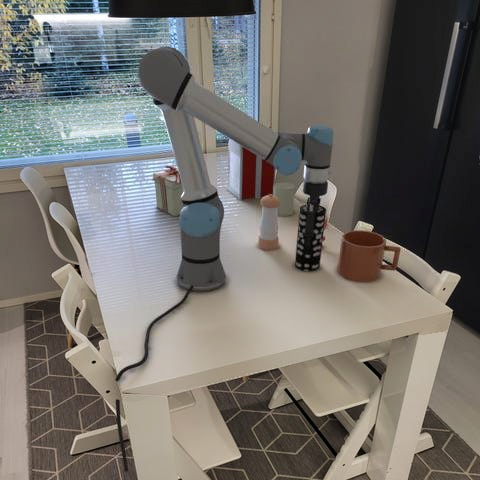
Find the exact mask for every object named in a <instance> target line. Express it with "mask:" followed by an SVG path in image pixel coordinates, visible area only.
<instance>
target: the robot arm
mask: <svg viewBox="0 0 480 480" xmlns="http://www.w3.org/2000/svg"><path fill="white" fill-rule="evenodd" d="M137 74H138V80H139V83H140V85H141V87H142V88H143V90H144V91H145V92H146V93H147V94H148V95H149V96H150V97H151V98H152V102H153V105H154V107H155V108H157V109H158V110H160V112H161V114H162V117H163V121H164V124H165V128H166V132H167V135H168V138H169V141H170V146H171V150H172V153H173V156H174V160H175V163H176V167H177V168H178V171H179V175H180V178H181V182H182V185H183V189H184V192H183V194H182V196H181V199H182V203H183V207H184V208H183V209H182V210H181V213H180V215H179V221H178V223H179V228H180V231H179V232H180V247H181V250H180V251H181V261H180V264H179V266H178V267H179V268H178V270H177V272H176V273H177V274H176V283H177V285H178V286H179V287H180V288H182V289H183V290H186V292H185V294H184V296H183V297H182V298H181V300H180V301H179V302H177V303H176V304H175V305H173V306H172V307H170V308H169V309H167V310H166V311H165V312H163V313H162V314H160V315H158V316H157V317H156V318H154V319H153V320H152V321H151V322H150V323H149V325H148V326H147V328H146V330H145V331H146V332H145V340H144V346H143V347H144V354H143V356H142V358H141V360H139V361H138V362H135V363H133V364H129V365H127V366H125V367H123V368H121V370H119V372H118V373H117V375H116V377H115V378H114V381H115V382H119V381H120V380H121V378H122V376H123V375H124V374H125V373H126V372H128V371H130V370H132V369H135V368H138V367H140V366H142V365H143V364H144V363H145V362H146V360H147V359H148V356H149V342H150V334H151V330H152V328H153V327H154V325H155V324H157V322H159V321H160V320H161V319H163V318H165V317H166V316H167V315H169V314H170V313H171V312H173V311H174V310H176V309H178V308H179V307H180V306H182V305H183V304H184V303H185V302H186V300H187V298H188V297H189V295H190V294H191V292H194V293H206V292H207V293H208V292H212V291H216V290H218V289H220V288H221V287H223V286H224V285H225V283H226V279H227V278H226V272H225V269H224V267H223V264H222V260H221V256H220V254H221V253H220V252H221V250H220V249H221V248H220V247H221V246H220V245H221V244H220V243H221V242H220V240H221V239H220V237H221V229H222V225H223V221H224V217H225V208H224V205H223V202H222V200H221V199H220V196H219V192H218V189H217V187H216V186H214V185H213V184H211V181H210V175H209V172H208V168H207V164H206V160H205V157H204V151H203V147H202V145H201V140H200V136H199V132H198V129H197V124H196V121H195V119H197V120H198V121H200V122H202V123H203V124H205V125H206V126H208V127H210V128H212V129H213V130H215V131H216V132H218V133H220V134H221V135H223V136H224V137H226V138H228V139H229V138H230V139H231V140H233V141H234V142H236V143H238V144H239V145H241V146H243V147H244V148H246V149H248V150H249V151H251V152H252V153H254V154H256V155H257V156H259V157H261V158H262V159H264V160H265V161H267V162H268V163H270V164H272V165H273V166H274V167H275V169H276V172H277V173H278V174H280V175H283V176H291V175H294V174H295V173H297V172H298V171H299V169H300V167H301V166H302V161H304V169H303V183H302V193H303V194H304V195H306V196H308V197H307V200H306V205H307V211H306V212H307V217H306V225H305V233H304V234H303V235H302V236H305V238H304V248H303V254H304V255H312V245H313V231H314V222H315V211H316V213H317V212H318V207H319V206H321V201H322V199H321V197H323V196H325V195H327V194H328V188H329V187H328V186H329V182H328V181H329V179H330V174H332V170H331V168H330V167H331V160H332V155H333V154H332V153H333V146H334V129H333V128H331V127H330V126H328V125H311V126H309V127H308V129H307V131H306V132H305V133H291V132H279V131H278V132H275V131H274V130H272V129H271V128H269V127H268V126H266V125H264V124H263V123H261V122H260V121H259V120H256V119H255V118H254V117H252V116H250V115H249V114H247V113H246V112H244V111H243V110H241V109H239V108H238V107H236V106H234V104H232V103H230V102H229V101H227V100H226V99H224V98H222V97H220V96H219V95H217V94H216V93H214V92H213V91H211V90H209V89H208V88H206V87H205V86H204V85H201V84H200V83H198V82H197V81H196V77H195V75H194V74H192V73H191V68H190V64H189V61H188V59H187V58H186V56H185V55H184V54H183V52H182V51H180V50H179V49H177V48H175V47H172V46H166V45H165V46H160V47H158V48H157V47H156V48H154V49H151V50H150V51H148V52H146V53H145V54H144V55H143V57H141V59H140V61H139V63H138V71H137ZM115 415H116V425H117V434H118V439H119V445H120V451H121V456H122V457H121V458H122V461H123V471H124V472H125V473H127V472H128V471H129V466H128V459H127V453H126V447H125V440H124V436H123V427H122V419H121V417H122V416H121V400H120V399H117V398H115Z"/></svg>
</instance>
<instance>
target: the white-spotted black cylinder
mask: <svg viewBox="0 0 480 480" xmlns="http://www.w3.org/2000/svg"><path fill="white" fill-rule="evenodd" d="M306 211H307V204H304V205H303V204H302V205H301V206H299V211H298V212H299V214H298V224H297V235H296V236H297V237H296V247H295V258H294V267H295V268H296V269H297V270H299V271H302V272H310V273H311V272H315V271H318V270H320V266H321V258H322V250H323V248H322V245H323V242H324V241H323V236H324V233H325V230H324V225H325V218H326V215H327V208H326V207H324V206H323V205H320V206H319V207H318V212H317V213H316V211H315V222H314V231H313V245H312V255H304V254H303V248H304V238H305V236H302V235H303V234H304V233H305V225H306V217H307V212H306Z"/></svg>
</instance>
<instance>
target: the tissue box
mask: <svg viewBox="0 0 480 480" xmlns="http://www.w3.org/2000/svg"><path fill="white" fill-rule="evenodd" d="M227 147H228V149H227V150H228V151H227V152H228V153H227V155H228V157H227V162H228V163H227V191H229V192H230V193H231V194H232V195H234V197H236V198H237V199H238V200H240V201H242V200H251V199H253V200H254V199H260V198H261V199H262V198H263V197H264V196H267V195H269V194H272V195H273V185H274V184H275V183H276V173H277V170H276V169H275V167H274V166H273V165H272V164H270V163H268V162H267V161H265V160H264V159H262V158H261V157H259V156H257V155H256V154H254V153H252V152H251V151H249V150H248V149H246V148H244V147H243V146H241V145H239V144H238V143H236V142H234V141H233V140H231V139H230V138H228V146H227Z"/></svg>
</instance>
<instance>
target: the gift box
mask: <svg viewBox="0 0 480 480" xmlns="http://www.w3.org/2000/svg"><path fill="white" fill-rule="evenodd" d="M165 168H166V170H162V171H157V172H154V173H152V181H153V182H154V190H155V200H156V207H157V208H158V209H160V210H162V211H163V212H165V213H167V214H169V215H171V216H173V217H177V216H180V213H181V210H182V209H183V208H184V207H183V203H182V199H181V196H182V194H183V192H184V189H183V185H182V182H181V178H180V175H179V171H178V167H177V168H176V167H175V166H171V165H165Z"/></svg>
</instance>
